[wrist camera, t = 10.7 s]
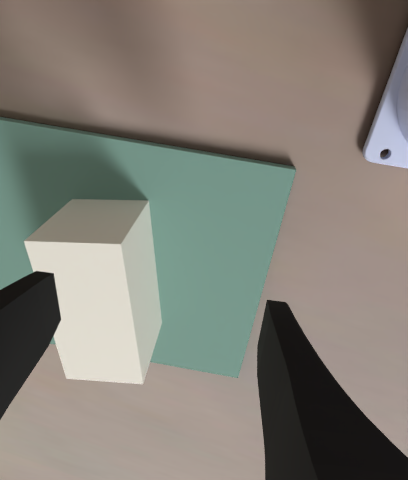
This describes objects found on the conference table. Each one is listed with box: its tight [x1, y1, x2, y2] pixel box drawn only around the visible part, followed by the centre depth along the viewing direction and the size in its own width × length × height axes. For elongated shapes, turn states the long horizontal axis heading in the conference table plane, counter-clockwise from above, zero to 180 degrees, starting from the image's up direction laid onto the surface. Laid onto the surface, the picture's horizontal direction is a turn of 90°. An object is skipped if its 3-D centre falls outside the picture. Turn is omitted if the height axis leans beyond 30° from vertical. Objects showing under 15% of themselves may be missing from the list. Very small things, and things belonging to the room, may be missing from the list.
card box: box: [24, 199, 162, 384], centre depth 20 cm, size 9×4×5 cm, turn 2°
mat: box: [0, 117, 296, 378], centre depth 22 cm, size 18×16×1 cm
